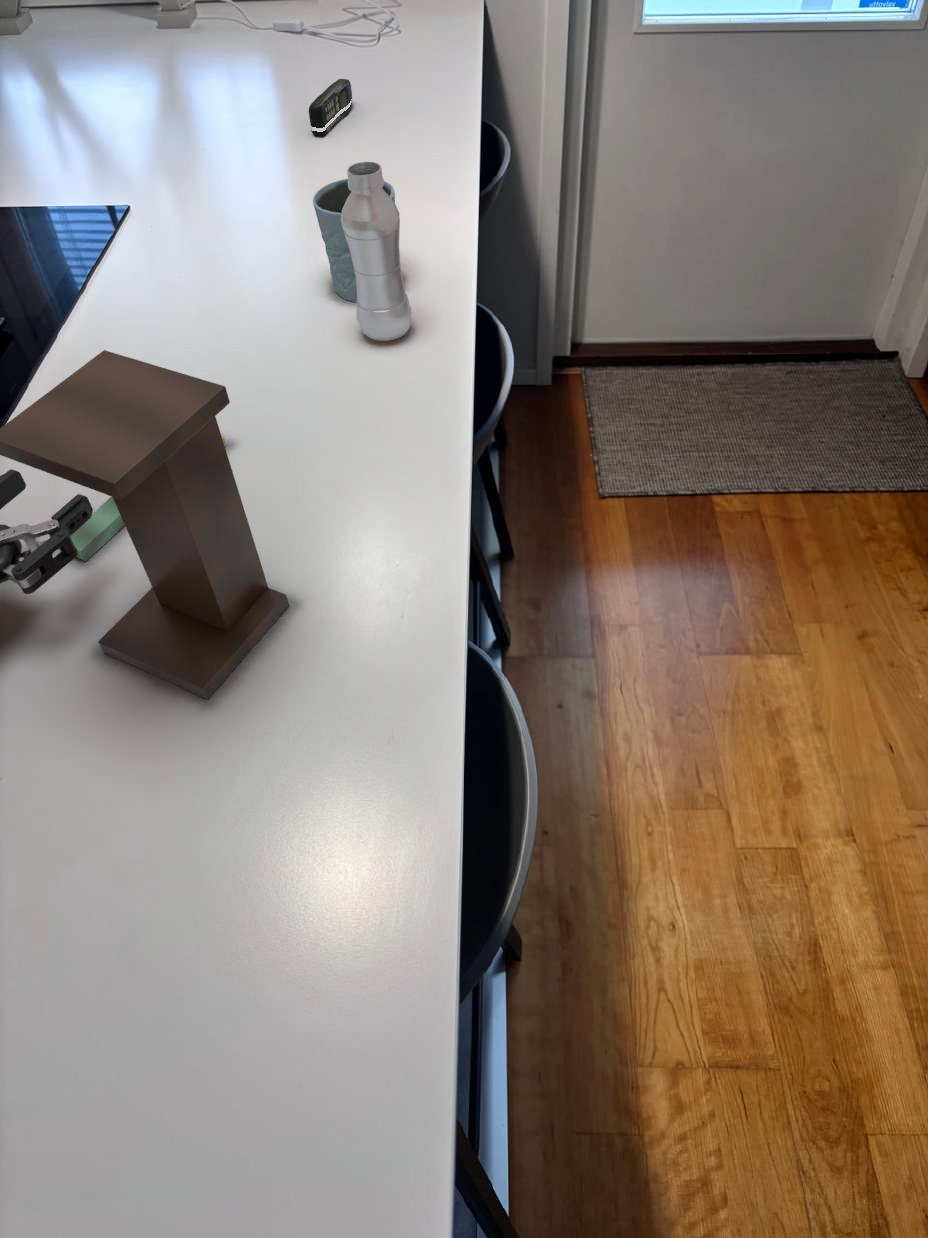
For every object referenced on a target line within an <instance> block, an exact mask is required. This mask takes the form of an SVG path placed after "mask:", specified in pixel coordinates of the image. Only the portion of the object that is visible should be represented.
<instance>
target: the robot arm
mask: <svg viewBox="0 0 928 1238" xmlns="http://www.w3.org/2000/svg"><path fill="white" fill-rule="evenodd" d="M26 488H27V483H26V482H25V480H24V478H23V476H22V474H21V472H20V471H18V470H15V469H9V470H7V471H5V473H3V474H1V475H0V510H2V509H3V508H4V507H5V506H7V505H8V504H9V503H10V502H11V501H13V500H14V499H15V498H17V497H18V496H19V495H20V494H21V493H23V492H24V491H25V490H26ZM93 511H94V509H93V506H92V504H91V501H90V500H89V498H88V496H86V495H83V494H80V493H78V494H76V495H75V496H73V498H71V499H69V501H68V502H67V503H66V504H65V505H63V506H61V508H60V509H59V510H57V511H56V512H55V513H54V514H53V515H52V516H50V519H49V520H47V521H44V522H40V523H37V524H34V525H30V524H28V523H21V524H18V525H16V526H9V525H7V524H0V585H1V584H3V583H5V582H8V581H10V582H13V583H15V584H16V585H18V587H19V588H20V589H21V591H22V592H23V594H25V595H30V594H33V593H35V592H36V591H38V589H40V588H41V587H42V586H43V585H44V584H45V583H46V582H49V580H50V579H51V578H53V577H55V575H56V574H57V573H59V572H60V571H61V570H62V569H63V568H65V567H66V566H67V565H68V564H70V563H71V562H72V561H73V560H75V559H76V556H77V555H78V550H77V548H76V547H75V545H74V543H73V541H72V539H71V535H72V534H73V533H74V532H76V531H77V530H78V529H79V528H80V527H81V526H82V525H83V524H85V522H87V521H88V520H89V519H90V518H91V516H92V514H93V513H94V512H93ZM47 535H48V536H49V538H47V539H45V540H43V541H39V540H38V539H39V538H41V537H45V536H47ZM21 540H22V541H24V543H25V544H26V546H27V548H28V549H27V550H25V551H23V545H22V542H21ZM58 550H59V551H60V552H59V553H58V554H56V555H55V556H54V557H53V555H54V553H55V552H56V551H58Z"/></svg>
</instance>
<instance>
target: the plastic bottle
mask: <svg viewBox="0 0 928 1238" xmlns="http://www.w3.org/2000/svg"><path fill="white" fill-rule="evenodd" d="M346 173H347V179H348V188H349V190H351V193H350V195H349V197H348V198H347V200H346V202H345V204H344V207H343V209H342V213H341V223H342V227H343V230H344V234H345V237H346V240H347V243H348V246H349V249H350V253H351V257H352V262H353V265H354V271H355V276H356V288H357V302H356V307H355V308H356V320H357V323H358V326H359V329H360V330H361V332H362V333H363V334H364V335H365V336H366V337H367V338H369V339H371V340H373V341H374V340H375V341H379V342H387V341H388V342H389V341H393V340H396V339H397V340H398V339H400V338H401V337H403V336H404V335H405V334H407V332H408V331H409V329H410V327H411V326H412V317H413V310H412V306H411V302H410V299H409V296H408V294H407V292H406V288H405V287H406V286H405V283H404V277H403V273H402V267H401V251H400V232H401V231H400V230H401V229H400V228H401V225H400V224H401V221H400V211H399V209H398V207H397V205H396V202H395V203H394V202H393V200H392V199H391V198H390V196H389V195H388V194H387V193H386V192H385V191H384V190H383V189H382V187H383V186H384V181H385V180H384V177H383V169H382V166H381V164H379V163H377V162H375V161H360V162H356V163H354V164H351V165H349V167H347V171H346Z"/></svg>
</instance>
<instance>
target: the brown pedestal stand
mask: <svg viewBox="0 0 928 1238" xmlns="http://www.w3.org/2000/svg"><path fill="white" fill-rule="evenodd" d="M230 403H231V400H230V398H229V394H228V391H227V387H226V386H225V385H222V384H219V383H215V382H212V381H208V380H206V379H202V378H199V377H195V376H192V375H189V374H185V373H182V372H179V371H176V370H172V369H168V368H165V367H162V366H159V365H155V364H152V363H149V362H146V361H142V360H139V359H136V358H132V357H129V356H125V355H122V354H119V353H116V352H112V351H108V350H105V349H104V350H102V351H101V352H100V353H98V354H96V356H94V357H93V358H91V359H90V360H89V361H88V362H86V363H85V364H84V365H82V366H81V367H80V368H78V369H76V371H75V372H73V373H71V374H70V375H69V376H68V377H66V378H65V379H64V380H62V381H61V382H60V383H58V384H57V385H56V386H54V387H53V388H52V389H50V390H49V391H48V392H47V393H45V394H43V396H41V397H40V398H39V399H37V400H36V401H34V402H33V403H32V404H30V405H29V406H28V407H26V408H25V409H23V411H21V412H20V413H19V414H17V415H16V416H15V417H13V418H12V419H10V421H9V420H8V422H7V423H6V424H4V425H3V426H1V427H0V456H1V457H4V458H7V459H9V460H12V461H16V462H17V463H20V464H23V465H25V466H29V467H32V468H34V469H37V470H39V471H42V472H44V473H47V474H49V475H53V476H56V477H58V478H61V479H63V480H66V481H69V482H72V483H74V484H77V485H80V486H82V487H85V488H88V489H89V490H93V491H96V492H97V493H102V494H103V495H107V496H109V497H113V499H114V502H115V504H116V506H117V508H118V511H119V513H120V515H121V517H122V520H123V522H124V524H125V526H124V527H125V528H126V531H127V533H128V536H129V538H130V540H131V543H132V545H133V547H134V550H135V551H136V553H137V556H138V558H139V560H140V562H141V565H142V567H143V569H144V571H145V575H146V576H147V578H148V581H149V583H150V585H151V588H150V589H149V590H148V591H147V592H146V593H145V594H144V595H143V596H141V598H140V599H139V600H138V601H137V602H136V603H134V605H133V606H132V607H131V608H130V609H129V610H128V611H127V612H126V613H125V614H124V615H123V616H122V617H121V618H120V619H119V620H118V621H117V622H116V623H115V624H114V625H113V626H112V627H111V628H110V629H109V630H108V631H107V632H105V634H104V635H103V636H102V637H101V638H100V639H99V640H98V642H97V643H98V645H99V646H100V648H101V650H102V652H103V653H104V654H106V655H108V656H111V657H113V658H115V659H117V660H119V661H122V662H124V663H126V664H129V665H130V666H133V667H135V668H137V669H139V670H142V671H144V672H147V673H149V674H150V675H152V676H156V677H158V678H159V679H161V680H164V681H166V682H167V683H171V684H173V685H175V686H177V687H179V688H181V689H184V690H186V691H188V692H191V693H192V694H195V695H197V696H199V697H201V698H204V699H206V700H209V699H210V698H211V697H212V696H213V695H214V693H215V692H216V691H217V690H218V689H219V688H220V687H221V685H222V684H223V683H224V682H225V681H226V679H227V678H229V676H230V675H231V674H232V672H234V670H235V669H236V668H237V667H238V665H240V663H242V661H243V660H244V659H245V658H246V656H247V655H248V654H249V653H250V652H251V651H252V650H253V648H254V647H255V646H256V645H257V644H258V642H259V641H260V640H261V639H262V638H263V637H264V635H265V634H266V633H267V632H268V631H269V630H270V629H271V627H272V626H273V625H274V624H275V623H276V621H277V620H278V619H279V618H280V617H281V616H282V615H283V614H284V613H285V611H286V610H287V609H288V608H289V607H290V603H289V599H288V595H287V594H286V593H283V592H280V591H279V590H276V589H273V588H270V587H269V585H268V582H267V579H266V576H265V575H266V574H265V572H264V568H263V565H262V562H261V559H260V556H259V552H258V550H257V546H256V543H255V539H254V537H253V533H252V530H251V527H250V523H249V521H248V518H247V513H246V511H245V510H246V509H245V508H244V504H243V500H242V498H241V494H240V491H239V489H238V484H237V481H236V478H235V475H234V472H233V468H232V465H231V463H230V459H229V456H228V452H227V449H226V447H225V446H224V443H223V439H222V437H223V436H222V433H221V430H220V426H219V424H218V420H217V417H216V416H217V415H218V414H219V413H220V412H221V411H223V410H224V409H226V407H227V406H228V405H229V404H230Z"/></svg>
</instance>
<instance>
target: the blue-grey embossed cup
mask: <svg viewBox="0 0 928 1238" xmlns="http://www.w3.org/2000/svg"><path fill="white" fill-rule="evenodd" d="M382 189H383V190H384V191H385V192H386V193H387V194H388V195H389V196H390V198H391V199H392V200H393V202H394V203H395V204H396V195H395V194H396V193H395V189H394V187H393V185H392V184H390V183H389V182H387V181H385V180H384V186H383V187H382ZM350 193H351V190H349V188H348V178H344V179H340V180H336V181H333V182H330V183H328V184H326V185H324V186H322V187H321V188H320V189H319V190H317V191H316V192H315V194H314V195H313V198H312V204H313V208H314V212H315V215H316V219H317V223H318V227H319V229H320V235H321V238H322V240H323V243H324V245H325V246H324V247H325V253H326V256H327V257H328V258H327V260H328V263H329V269H330V270H329V271H330V275H331V279H332V283H333V287H334V290H335V293H336V294H337V296H338V297H340V298H342V299H344V300H346V301H349V302H352V303H357V288H356V276H355V271H354V265H353V262H352V257H351V253H350V249H349V246H348V243H347V240H346V237H345V234H344V230H343V227H342V223H341V213H342V209H343V207H344V204H345V202H346V200H347V198H348V197H349V195H350Z"/></svg>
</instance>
